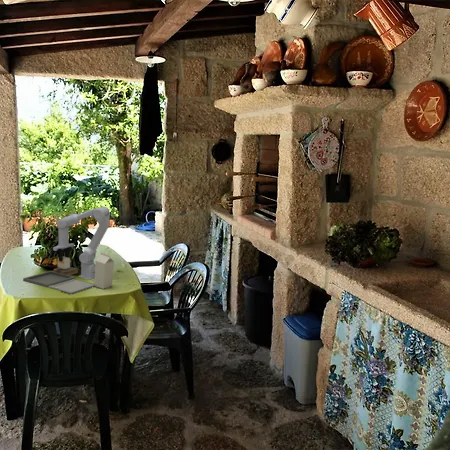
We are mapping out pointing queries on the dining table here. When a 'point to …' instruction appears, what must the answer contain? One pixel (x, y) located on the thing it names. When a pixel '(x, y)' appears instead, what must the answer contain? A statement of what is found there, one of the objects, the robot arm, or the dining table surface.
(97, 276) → the milk carton
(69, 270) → the stand
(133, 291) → the dining table surface
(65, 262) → the block
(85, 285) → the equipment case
